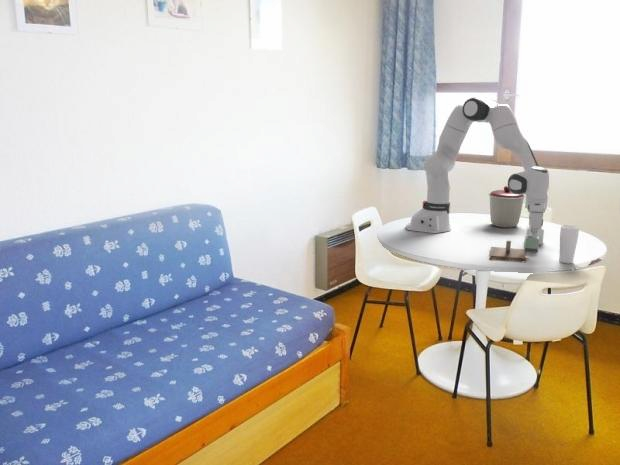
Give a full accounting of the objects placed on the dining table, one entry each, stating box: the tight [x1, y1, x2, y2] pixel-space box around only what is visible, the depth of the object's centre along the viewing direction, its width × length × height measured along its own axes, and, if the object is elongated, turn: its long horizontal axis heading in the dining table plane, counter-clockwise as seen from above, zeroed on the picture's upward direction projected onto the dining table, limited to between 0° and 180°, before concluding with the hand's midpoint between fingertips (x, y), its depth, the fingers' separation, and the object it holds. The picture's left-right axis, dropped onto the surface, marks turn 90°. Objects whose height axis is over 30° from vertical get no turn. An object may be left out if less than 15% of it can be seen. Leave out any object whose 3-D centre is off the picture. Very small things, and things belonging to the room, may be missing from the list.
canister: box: [488, 185, 526, 229], centre depth 291 cm, size 18×18×21 cm
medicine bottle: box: [525, 219, 545, 246], centre depth 260 cm, size 7×7×12 cm
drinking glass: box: [558, 224, 580, 264], centre depth 231 cm, size 7×7×15 cm
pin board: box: [489, 240, 527, 262], centre depth 241 cm, size 14×14×6 cm
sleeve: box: [523, 234, 539, 253], centre depth 249 cm, size 5×5×6 cm
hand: (533, 235), depth 248 cm, fingers open, 8 cm apart
